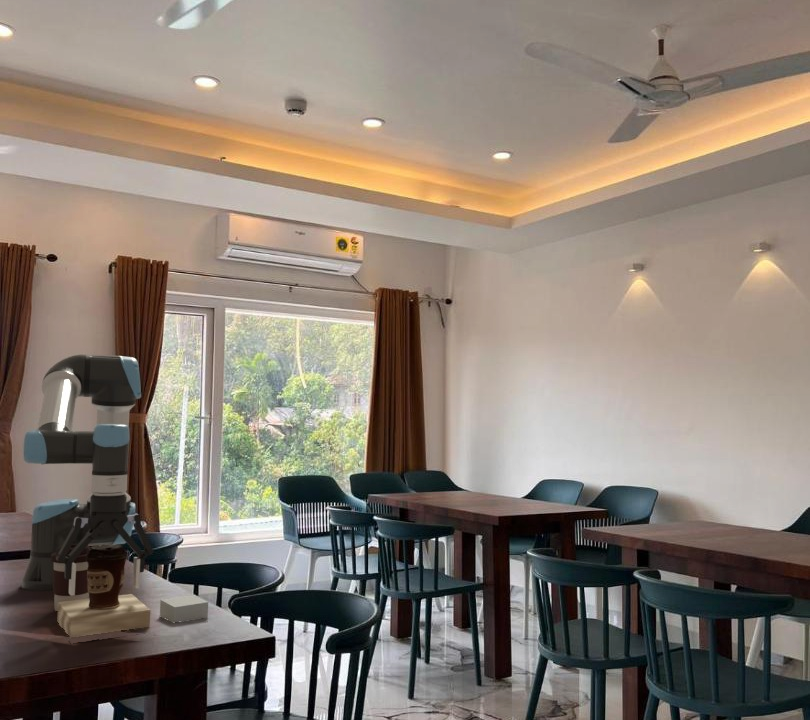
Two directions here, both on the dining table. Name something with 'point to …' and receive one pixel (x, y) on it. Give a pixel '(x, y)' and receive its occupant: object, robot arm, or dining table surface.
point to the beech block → (102, 616)
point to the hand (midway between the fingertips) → (104, 590)
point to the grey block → (183, 608)
